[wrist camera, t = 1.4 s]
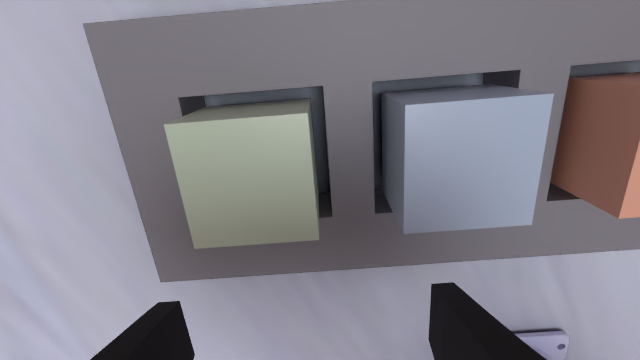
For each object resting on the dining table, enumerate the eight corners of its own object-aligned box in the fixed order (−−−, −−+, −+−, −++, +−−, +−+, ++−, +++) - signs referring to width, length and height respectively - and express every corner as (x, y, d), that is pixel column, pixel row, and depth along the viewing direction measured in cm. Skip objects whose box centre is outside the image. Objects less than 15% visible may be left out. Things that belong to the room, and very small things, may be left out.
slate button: (479, 184, 16) (531, 224, 12) (382, 191, 16) (403, 233, 12) (489, 84, 14) (553, 93, 10) (381, 92, 15) (405, 105, 11)
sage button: (319, 196, 16) (319, 239, 12) (224, 203, 16) (194, 248, 12) (310, 98, 15) (307, 113, 11) (204, 107, 15) (163, 124, 11)
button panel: (660, 216, 19) (721, 243, 16) (183, 249, 19) (160, 282, 17) (740, -33, 14) (842, -55, 12) (123, 20, 15) (79, 11, 12)
